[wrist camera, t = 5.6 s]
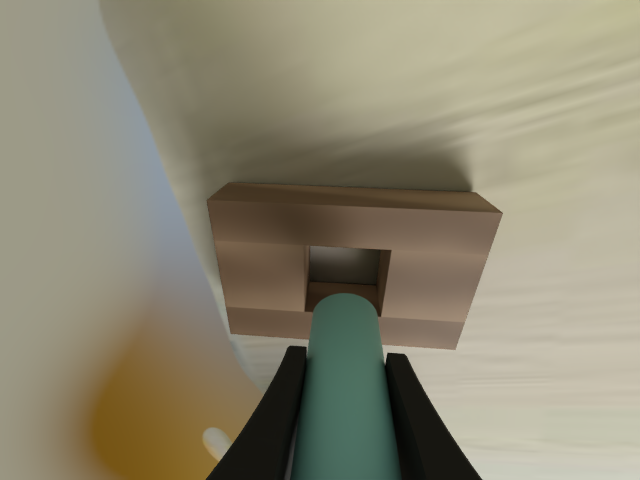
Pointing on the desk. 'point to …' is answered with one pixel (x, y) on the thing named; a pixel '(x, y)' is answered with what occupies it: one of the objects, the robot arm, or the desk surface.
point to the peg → (345, 397)
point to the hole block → (351, 232)
